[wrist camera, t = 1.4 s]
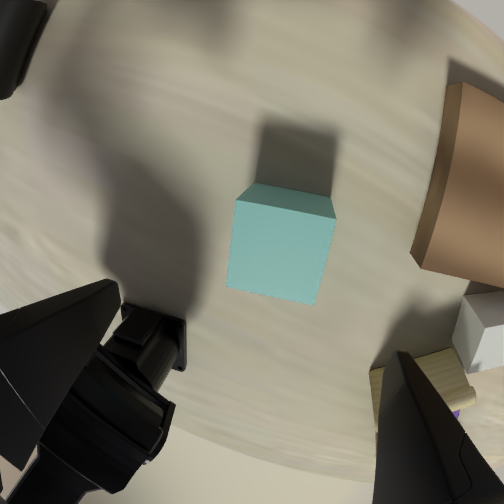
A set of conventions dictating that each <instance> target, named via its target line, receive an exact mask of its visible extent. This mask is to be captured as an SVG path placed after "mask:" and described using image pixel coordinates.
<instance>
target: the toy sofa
mask: <svg viewBox="0 0 504 504" xmlns="http://www.w3.org/2000/svg"><path fill="white" fill-rule="evenodd" d="M414 360H415V362H416V363H417V364H418V366H419V367H420V368H421V370H422V371H423V372H424V374H425V375H426V376H427V378H428V379H429V380H430V382H431V383H432V384H433V386H434V387H435V389H436V390H437V391H438V393H439V394H440V396H441V397H442V398H443V400H444V401H445V403H446V404H447V405H448V407H449V408H450V410H451V411H452V413H453V414H454V415H455V417H456V418H457V419H458V416H459V411H460V409H462V408H465V407H468V406H470V405H473V404H475V402H476V392H475V389H474V388H473V387H472V386H470V385H469V383H468V380H467V378H466V376H465V374H464V371H463V369H462V367H461V364H460V362H459V360H458V358H457V356H456V353H455V351H454V350H453V348H448V349H445V350H442V351H439V352H435V353H432V354H429V355H426V356H423V357H419V358H416V359H414ZM384 368H385V367H382V368H378V369H374V370H372V371H370V372H369V379H370V386H371V394H372V402H373V411H374V421H375V434H376V457H377V436H378V414H379V405H380V397H381V387H382V376H383V371H384Z"/></svg>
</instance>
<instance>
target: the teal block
mask: <svg viewBox="0 0 504 504" xmlns="http://www.w3.org/2000/svg"><path fill="white" fill-rule="evenodd" d="M335 223H336V216H335V212H334V208H333V205H332V201H331V197H326V196H321V195H317V194H312V193H307V192H302V191H297V190H292V189H286V188H281V187H276V186H270V185H264V184H259V183H253V184H252V185H251V186H250V187H249V188H248V189H247V190H246V191H245V192H244V193H243V194H241V195H240V196H239V197H238V198H237V199H236V201H235V209H234V218H233V226H232V235H231V244H230V253H229V262H228V271H227V281H226V287H230V288H234V289H239V290H243V291H248V292H252V293H257V294H261V295H266V296H271V297H275V298H280V299H285V300H290V301H295V302H300V303H305V304H310V305H314V303H315V300H316V296H317V293H318V289H319V286H320V282H321V278H322V275H323V271H324V267H325V263H326V260H327V256H328V252H329V248H330V244H331V240H332V236H333V232H334V227H335Z"/></svg>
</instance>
